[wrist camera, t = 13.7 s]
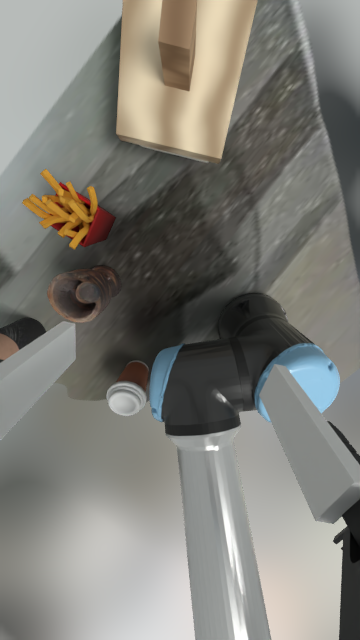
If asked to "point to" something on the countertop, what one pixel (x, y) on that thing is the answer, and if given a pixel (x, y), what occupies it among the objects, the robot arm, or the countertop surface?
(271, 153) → the countertop surface
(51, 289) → the mortar and pestle
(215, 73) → the lid
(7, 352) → the travel mug
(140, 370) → the coffee cup
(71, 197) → the french fries
